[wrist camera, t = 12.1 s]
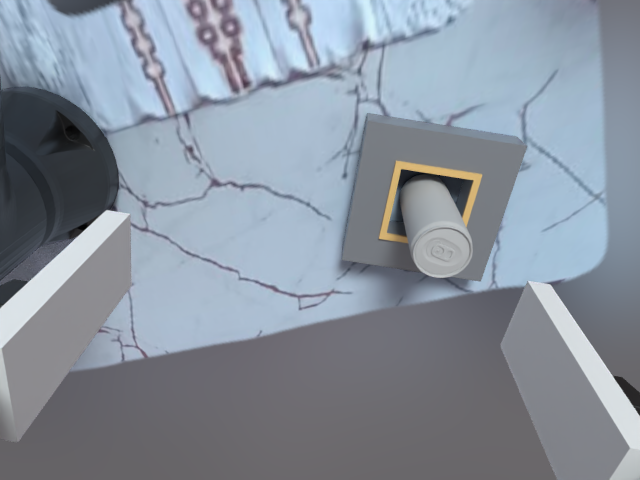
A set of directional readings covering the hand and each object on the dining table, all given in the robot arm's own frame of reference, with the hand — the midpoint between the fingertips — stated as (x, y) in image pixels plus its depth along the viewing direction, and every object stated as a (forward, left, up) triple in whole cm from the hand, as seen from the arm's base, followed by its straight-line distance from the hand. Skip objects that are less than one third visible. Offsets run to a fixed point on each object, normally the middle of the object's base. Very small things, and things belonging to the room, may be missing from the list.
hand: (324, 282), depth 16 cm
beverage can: (+9, -8, -32) cm, 35 cm away
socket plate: (+9, -8, -32) cm, 34 cm away
